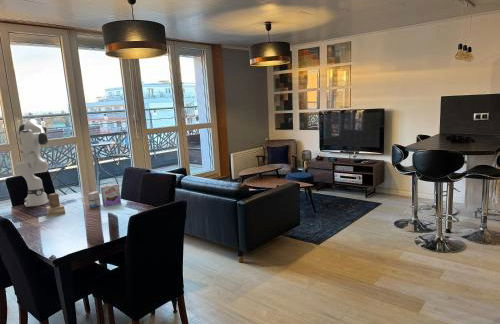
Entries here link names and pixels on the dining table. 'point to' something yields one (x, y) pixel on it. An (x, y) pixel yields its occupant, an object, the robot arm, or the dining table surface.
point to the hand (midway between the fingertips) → (32, 168)
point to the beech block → (55, 210)
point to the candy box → (110, 195)
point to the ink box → (94, 199)
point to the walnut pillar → (54, 200)
